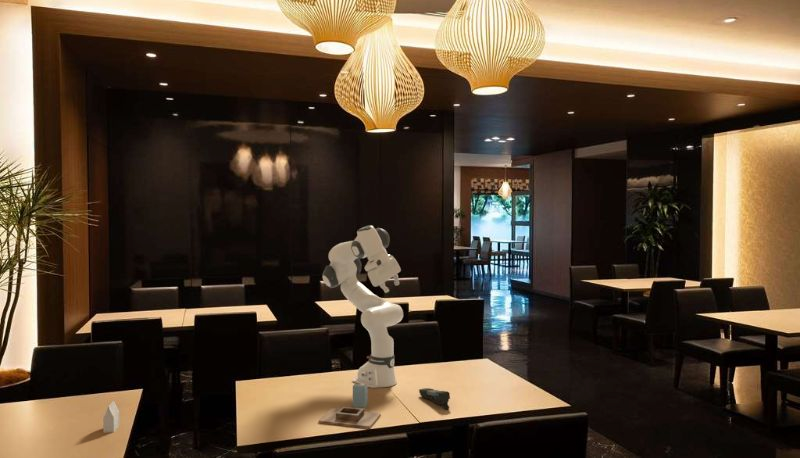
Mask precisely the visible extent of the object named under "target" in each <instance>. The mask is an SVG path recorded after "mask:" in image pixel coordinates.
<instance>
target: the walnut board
mask: <svg viewBox="0 0 800 458" xmlns="http://www.w3.org/2000/svg"><path fill="white" fill-rule="evenodd" d="M381 416H382V415H381V413H379V412H369V411H365V408H362V407H353V406H352V407H351V406H349V407H348V406H342V407H340V408H333V407H332V408H330V409H329V410H328V411H327V412H326V413H325V414H324V415H323V416H322V417H321V418H319V419H318V424H323V423H328V424H327V425H332V424H336V425H335V426H341V425H343V426H342V427H349V426H354V427H353V428H358V427H363V428H362V429H367V428H370V429H371V428H372V427H373V426H374V425H373V424H376V422H377V421H378V420H379V418H380V417H381Z"/></svg>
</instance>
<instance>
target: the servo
mask: <svg viewBox="0 0 800 458" xmlns="http://www.w3.org/2000/svg"><path fill="white" fill-rule="evenodd" d="M367 406H368V387H367V385H366V384H365V383H361V384H358V383H354V384H353V385H352V407H354V408H363V409H365V408H366V407H367Z"/></svg>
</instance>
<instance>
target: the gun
mask: <svg viewBox="0 0 800 458" xmlns="http://www.w3.org/2000/svg"><path fill="white" fill-rule="evenodd" d="M418 392H419V395H420V397H422V398H424V399H427V400H431V401H432V402H433V404H437V405H439V407H442V408H443V410H445V411H446V410H449V409H450V406H449V404H448V403H449V401H450V399H451V396H450V395H451V394H450V392H449V391H447V390H446V391H445V390H438V389H434V388H428V387H427V388H426V387H424V388H420V389H418Z"/></svg>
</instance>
